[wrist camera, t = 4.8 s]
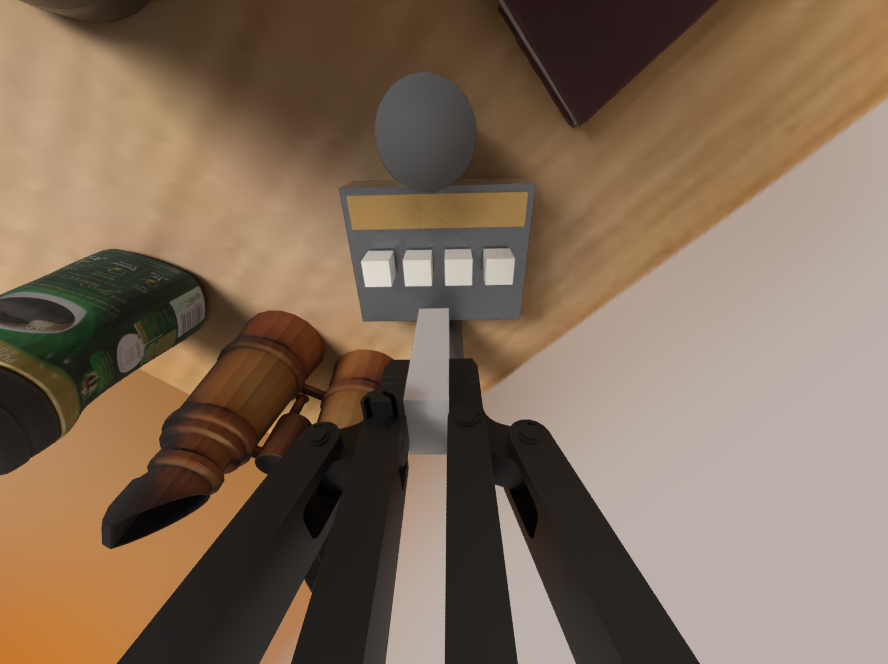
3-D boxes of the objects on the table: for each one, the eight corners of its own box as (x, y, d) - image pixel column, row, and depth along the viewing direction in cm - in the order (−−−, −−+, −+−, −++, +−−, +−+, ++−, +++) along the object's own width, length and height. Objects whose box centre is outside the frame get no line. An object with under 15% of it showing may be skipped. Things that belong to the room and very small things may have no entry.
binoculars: (417, 368, 36) (390, 572, 19) (388, 412, 40) (344, 615, 23) (254, 296, 32) (31, 481, 15) (238, 354, 36) (48, 554, 19)
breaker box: (353, 181, 26) (338, 188, 23) (524, 177, 26) (536, 183, 22) (372, 301, 32) (362, 322, 28) (511, 299, 32) (519, 320, 28)
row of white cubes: (368, 250, 25) (360, 261, 23) (509, 248, 25) (514, 258, 22) (371, 275, 26) (365, 286, 24) (507, 272, 26) (512, 284, 24)
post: (408, 105, 23) (367, 73, 11) (463, 103, 23) (478, 70, 11) (412, 166, 25) (381, 193, 14) (462, 164, 25) (475, 190, 13)
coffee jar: (110, 306, 33) (-206, 467, 17) (99, 235, 29) (-327, 356, 13) (211, 337, 34) (11, 508, 19) (213, 274, 31) (-38, 422, 15)
